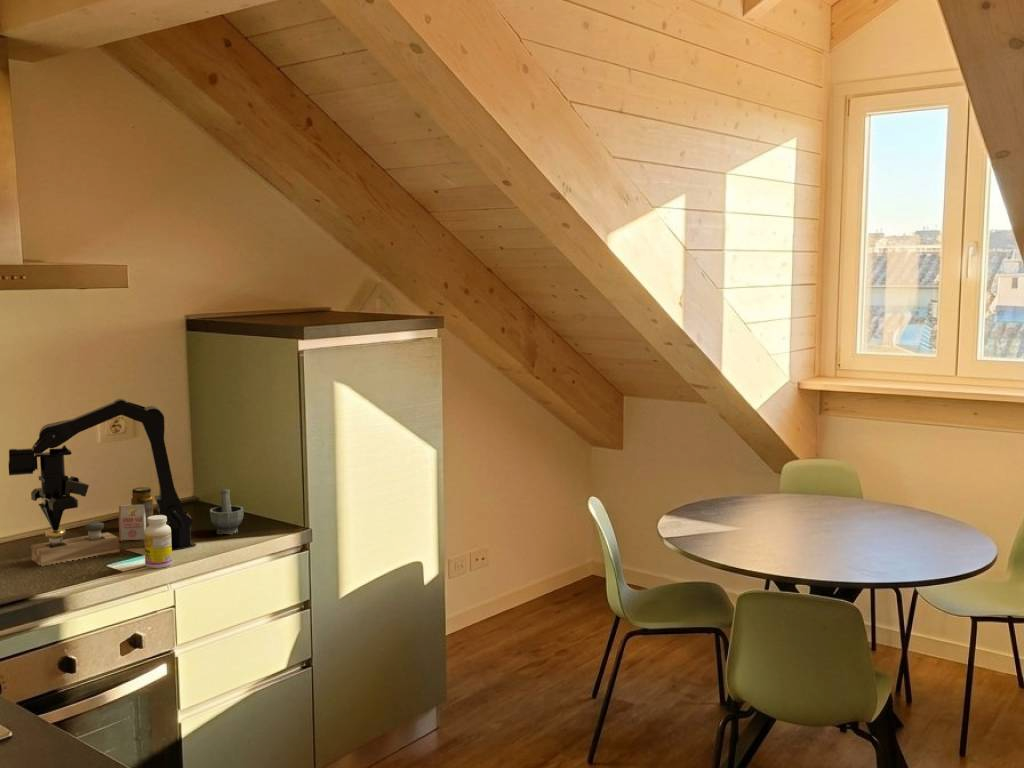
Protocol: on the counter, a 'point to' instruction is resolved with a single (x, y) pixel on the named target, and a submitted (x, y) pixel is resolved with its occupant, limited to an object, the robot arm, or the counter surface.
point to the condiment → (143, 500)
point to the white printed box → (132, 522)
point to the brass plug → (55, 537)
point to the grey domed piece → (94, 530)
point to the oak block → (74, 549)
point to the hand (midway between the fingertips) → (55, 530)
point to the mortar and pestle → (226, 515)
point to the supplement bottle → (157, 542)
